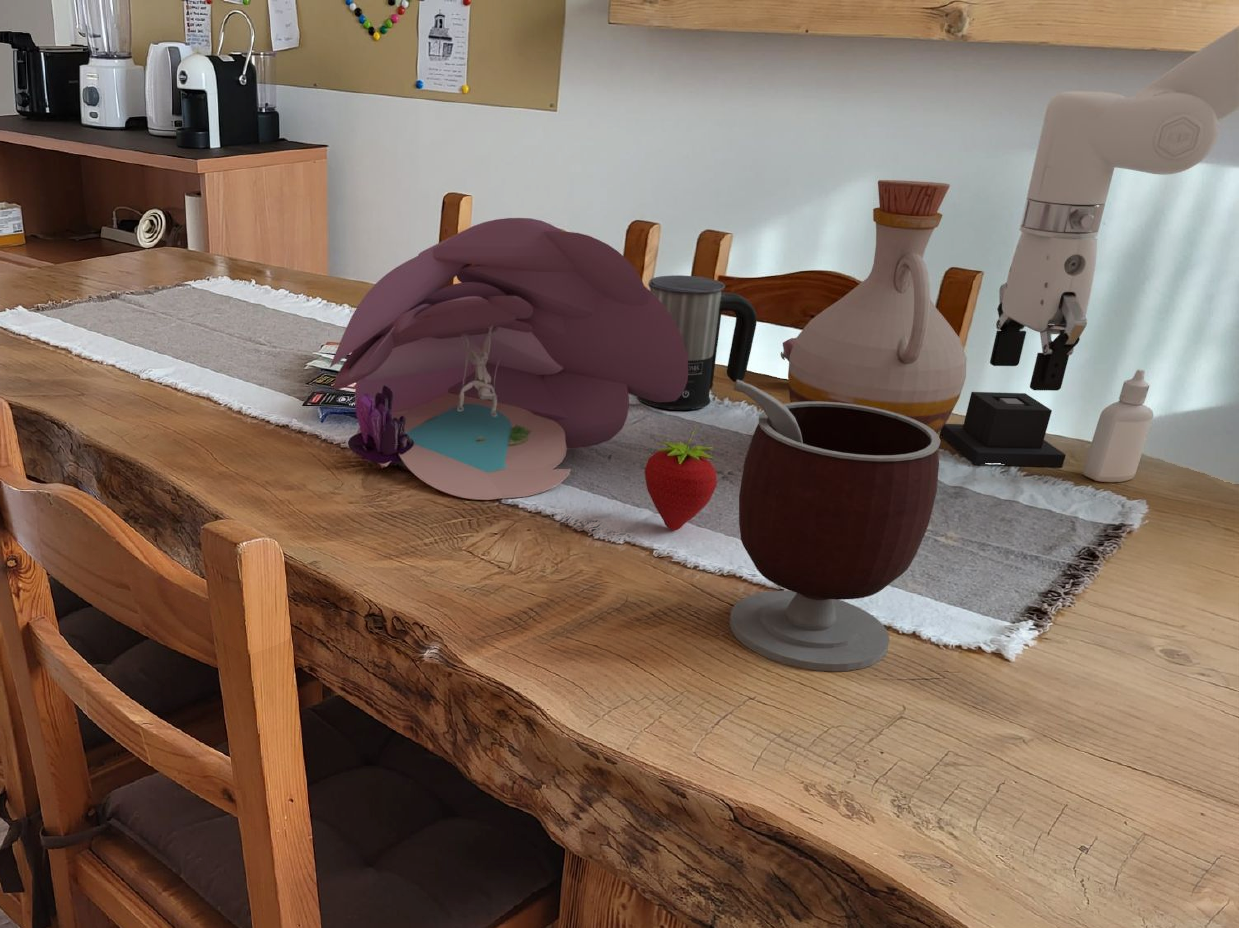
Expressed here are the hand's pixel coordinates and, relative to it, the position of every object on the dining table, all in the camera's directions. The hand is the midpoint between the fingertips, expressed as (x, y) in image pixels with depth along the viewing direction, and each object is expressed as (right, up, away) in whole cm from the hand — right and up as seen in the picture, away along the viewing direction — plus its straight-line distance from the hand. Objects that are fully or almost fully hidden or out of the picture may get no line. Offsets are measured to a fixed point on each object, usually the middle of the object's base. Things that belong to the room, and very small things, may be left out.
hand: (1023, 377), depth 131 cm
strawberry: (-43, -18, -20) cm, 51 cm away
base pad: (-1, -8, +4) cm, 9 cm away
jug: (-20, -11, -3) cm, 23 cm away
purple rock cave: (-61, -11, -6) cm, 62 cm away
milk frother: (-35, +2, +21) cm, 41 cm away
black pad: (-1, -6, +3) cm, 7 cm away
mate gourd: (-37, -27, -37) cm, 59 cm away
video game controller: (-16, +4, +27) cm, 32 cm away
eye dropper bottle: (+8, -12, -2) cm, 14 cm away
